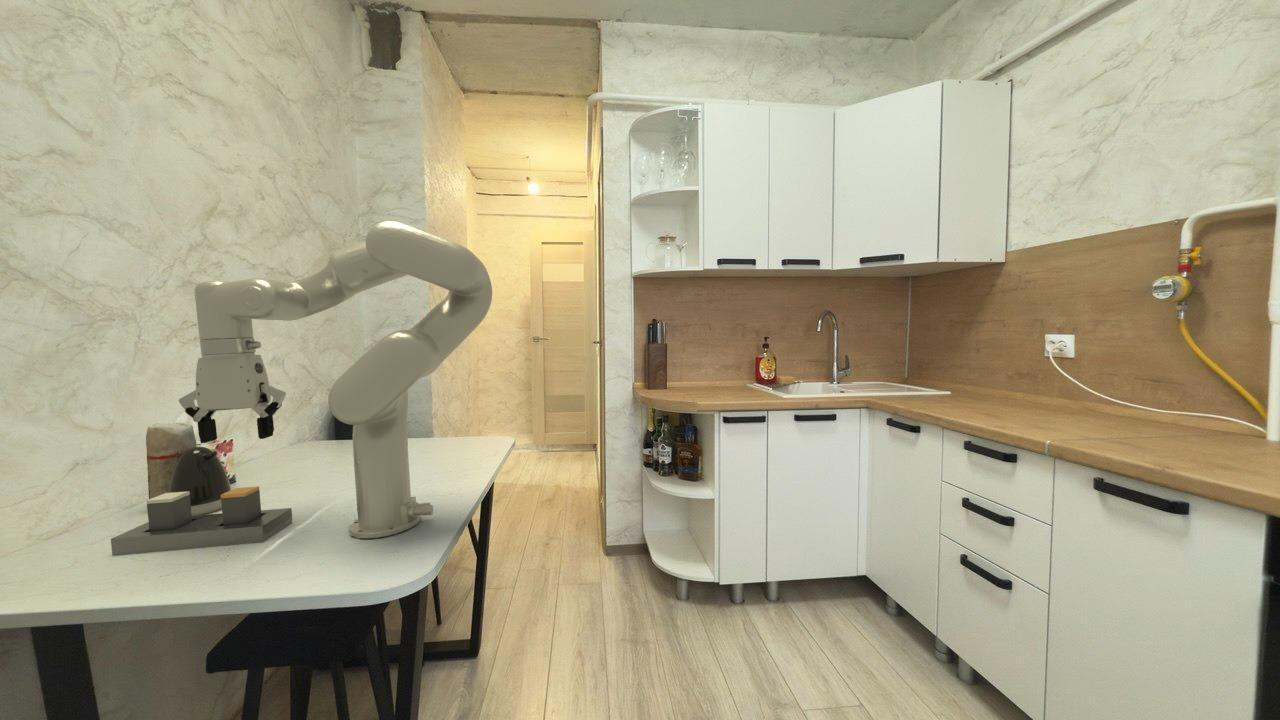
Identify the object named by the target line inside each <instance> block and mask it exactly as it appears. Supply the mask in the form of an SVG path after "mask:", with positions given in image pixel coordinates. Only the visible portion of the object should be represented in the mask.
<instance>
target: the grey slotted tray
mask: <svg viewBox="0 0 1280 720" xmlns="http://www.w3.org/2000/svg"><path fill="white" fill-rule="evenodd" d="M292 511H293V510H292V507H287V508H286V507H285V508H273V509H261V515H262V516H261V517H260V518H258V519H256V520H255V521H253V522H251V523H249V524H241V525H229V526H223V516H222V512H221V513H207V514H203V515H196V516H192V522H190V523H188V524H186V525H184V526H182V527H180V528H178V529H176V530H168V531H156V532H150V531H149V521H147V522H145V523H144V524H141V525H138V526H136V527H133V528H131V529H130V530H127V531H125V532H123V533H120V534H119V535H116V536H113V537H112V538H110V545H111V555H112V556H124V555H125V556H126V555H134V554H137V555H138V554H147V553H158V552H159V553H161V552H167V551H168V552H170V551H171V552H172V551H181V550H192V549H206V548H215V547H216V548H217V547H225V546H236V545H250V544H260V543H264V542H265V543H266V541H268V540H269V539H271V538H272V537H274V536H276V535H277V534H279V533H280V532H281V531H282V530H284V529H286V528H287V527H288V526H290V525H292V524H293V513H292Z"/></svg>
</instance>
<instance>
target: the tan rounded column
mask: <svg viewBox="0 0 1280 720" xmlns="http://www.w3.org/2000/svg"><path fill="white" fill-rule="evenodd" d="M145 446H146V465H147V485H148V487H147V488H148V500H149V499H152V498H154V497H157V496H159V495H162V494H165V493H168V489H169V483H170V479H171V475H172V472H173V469H174V467H175V464H176V462H177V460H178V459H179V457H180V456H181V454H182V453H183V452H185V451H186V450H188V449H190V448H193V447H198V446H197V438H196V435H195V431H194V426H193V425H192V424H190V423H186V422H170V423H169V422H168V423H151V424H149V426H148V427H147V430H146V437H145Z"/></svg>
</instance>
